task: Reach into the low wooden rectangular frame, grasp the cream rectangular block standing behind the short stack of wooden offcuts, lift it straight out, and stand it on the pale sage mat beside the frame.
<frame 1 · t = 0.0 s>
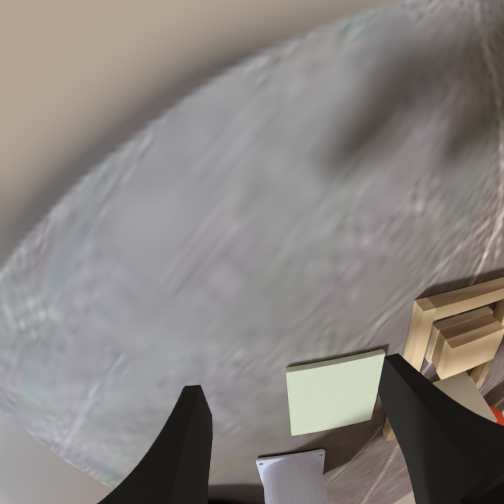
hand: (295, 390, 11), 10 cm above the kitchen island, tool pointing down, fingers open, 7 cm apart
wooden rectangular frame: (446, 364, 26), on the kitchen island
cream rectangular block: (438, 386, 27), resting in wooden rectangular frame
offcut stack: (456, 330, 24), resting in wooden rectangular frame
clementine: (472, 410, 32), on the kitchen island
sage mat: (333, 395, 26), on the kitchen island
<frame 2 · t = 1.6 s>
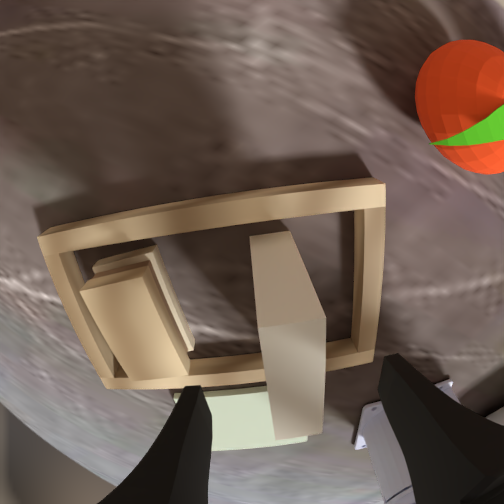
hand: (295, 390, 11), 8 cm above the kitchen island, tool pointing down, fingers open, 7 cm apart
wooden rectangular frame: (216, 297, 18), on the kitchen island
cream rectangular block: (275, 288, 18), resting in wooden rectangular frame
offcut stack: (148, 301, 19), resting in wooden rectangular frame
clementine: (433, 107, 14), on the kitchen island
sage mat: (246, 419, 24), on the kitchen island
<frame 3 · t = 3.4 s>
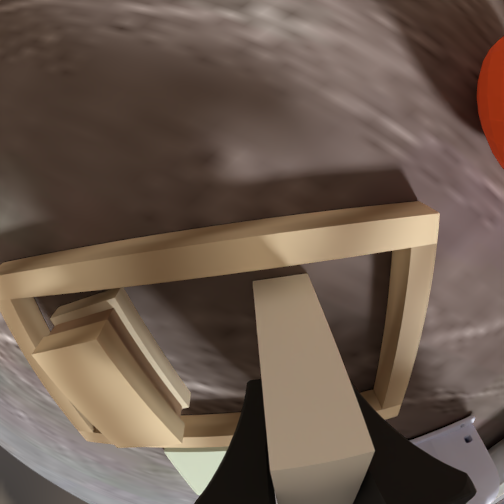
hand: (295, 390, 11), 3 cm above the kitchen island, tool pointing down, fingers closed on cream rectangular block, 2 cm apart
wooden rectangular frame: (210, 353, 14), on the kitchen island
cream rectangular block: (286, 343, 14), resting in wooden rectangular frame, touching gripper
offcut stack: (126, 351, 14), resting in wooden rectangular frame
clementine: (489, 110, 10), on the kitchen island
sage mat: (248, 468, 19), on the kitchen island
serving bowl: (491, 451, 26), on the kitchen island
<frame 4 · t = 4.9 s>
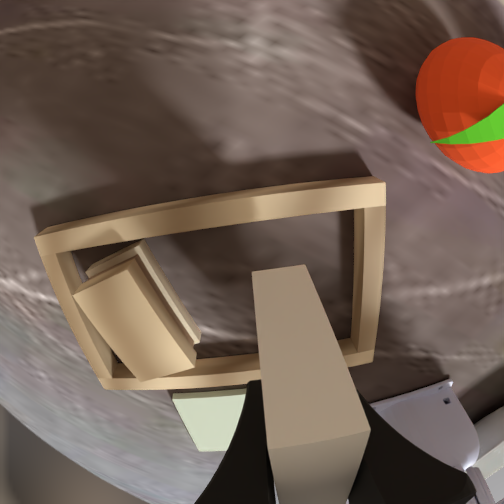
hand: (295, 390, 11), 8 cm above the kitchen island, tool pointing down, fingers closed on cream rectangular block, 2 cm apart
wooden rectangular frame: (215, 297, 18), on the kitchen island
cream rectangular block: (284, 334, 14), point 4 cm above the kitchen island, touching gripper
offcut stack: (147, 298, 18), resting in wooden rectangular frame
clementine: (434, 105, 14), on the kitchen island
sage mat: (245, 419, 23), on the kitchen island
serving bowl: (479, 428, 31), on the kitchen island
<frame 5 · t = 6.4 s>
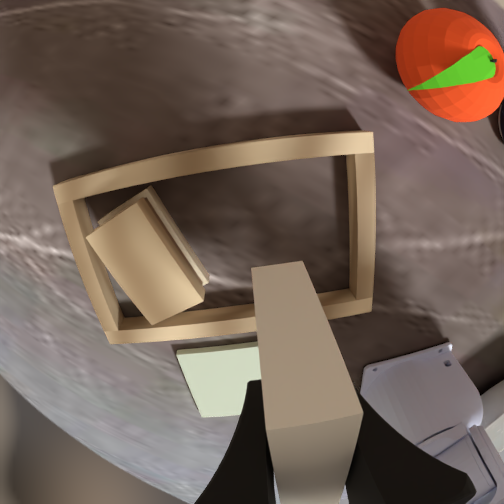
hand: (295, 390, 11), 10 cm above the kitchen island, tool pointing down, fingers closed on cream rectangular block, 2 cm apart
wooden rectangular frame: (220, 242, 20), on the kitchen island
cream rectangular block: (283, 329, 15), point 6 cm above the kitchen island, touching gripper
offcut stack: (156, 245, 20), resting in wooden rectangular frame
clementine: (415, 71, 16), on the kitchen island
sage mat: (248, 379, 25), on the kitchen island
serving bowl: (481, 405, 32), on the kitchen island
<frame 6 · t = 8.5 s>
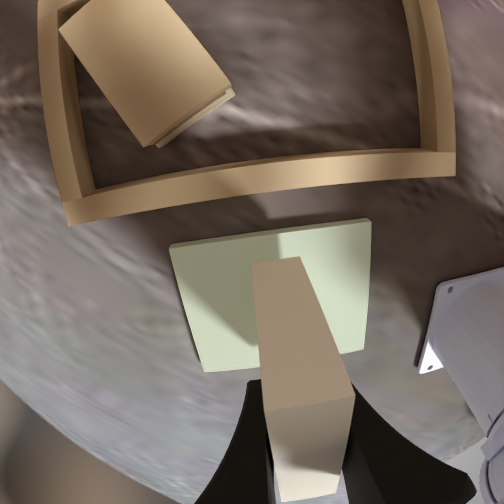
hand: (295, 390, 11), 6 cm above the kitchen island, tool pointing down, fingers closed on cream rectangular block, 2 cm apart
wooden rectangular frame: (248, 58, 12), on the kitchen island
cream rectangular block: (282, 322, 15), point 2 cm above the kitchen island, touching gripper
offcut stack: (156, 64, 12), resting in wooden rectangular frame
sage mat: (278, 301, 17), on the kitchen island
when the fingers open (4 cm above the kitchen island, at t = 9.7 s): cream rectangular block stays where it is, resting on sage mat.
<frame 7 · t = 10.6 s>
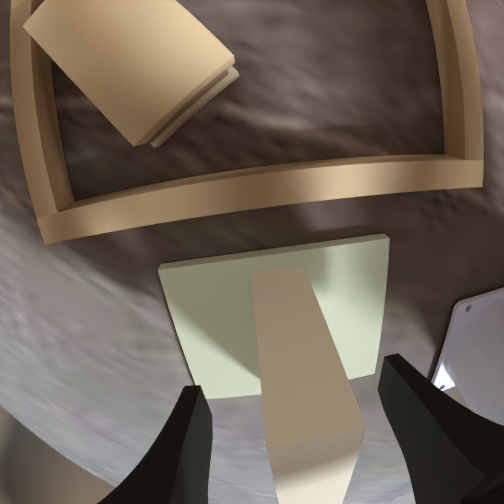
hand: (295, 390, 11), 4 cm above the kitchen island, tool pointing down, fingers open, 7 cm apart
wooden rectangular frame: (249, 47, 10), on the kitchen island
cream rectangular block: (283, 334, 15), point 1 cm above the kitchen island, touching sage mat
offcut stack: (142, 52, 10), resting in wooden rectangular frame
sage mat: (283, 326, 15), on the kitchen island
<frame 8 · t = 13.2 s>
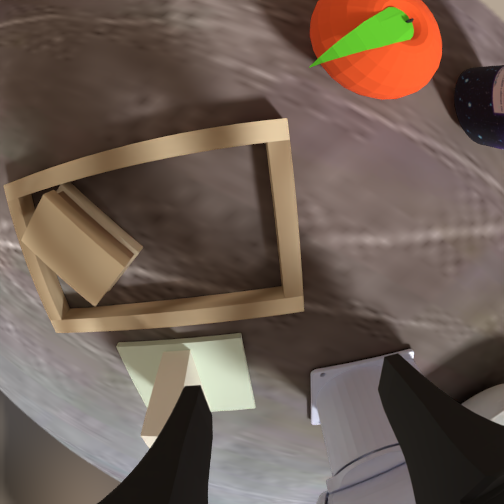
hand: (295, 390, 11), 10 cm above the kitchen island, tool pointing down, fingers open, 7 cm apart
wooden rectangular frame: (145, 236, 20), on the kitchen island
beverage can: (473, 105, 16), on the kitchen island
cream rectangular block: (188, 381, 24), point 1 cm above the kitchen island, touching sage mat
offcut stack: (91, 233, 20), resting in wooden rectangular frame
clementine: (346, 53, 16), on the kitchen island
sage mat: (189, 376, 24), on the kitchen island
serving bowl: (460, 417, 31), on the kitchen island
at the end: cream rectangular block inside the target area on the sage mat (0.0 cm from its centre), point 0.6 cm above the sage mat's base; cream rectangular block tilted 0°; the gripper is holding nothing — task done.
